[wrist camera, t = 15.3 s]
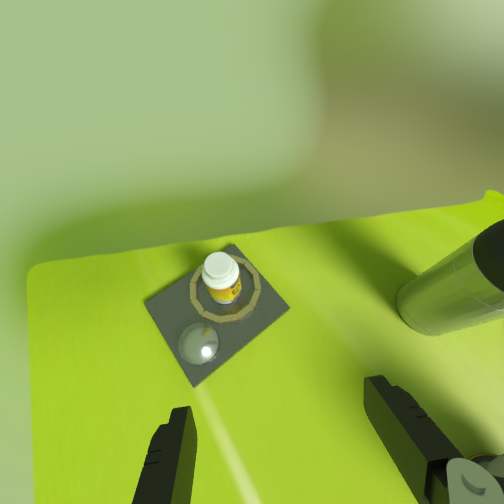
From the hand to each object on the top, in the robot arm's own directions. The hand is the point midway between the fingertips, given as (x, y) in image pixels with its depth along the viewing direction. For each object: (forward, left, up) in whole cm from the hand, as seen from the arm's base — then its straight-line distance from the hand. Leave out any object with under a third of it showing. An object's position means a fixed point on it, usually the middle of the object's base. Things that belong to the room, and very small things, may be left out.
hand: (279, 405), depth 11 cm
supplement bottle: (-5, -16, -28) cm, 33 cm away
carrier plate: (-2, -15, -29) cm, 32 cm away
